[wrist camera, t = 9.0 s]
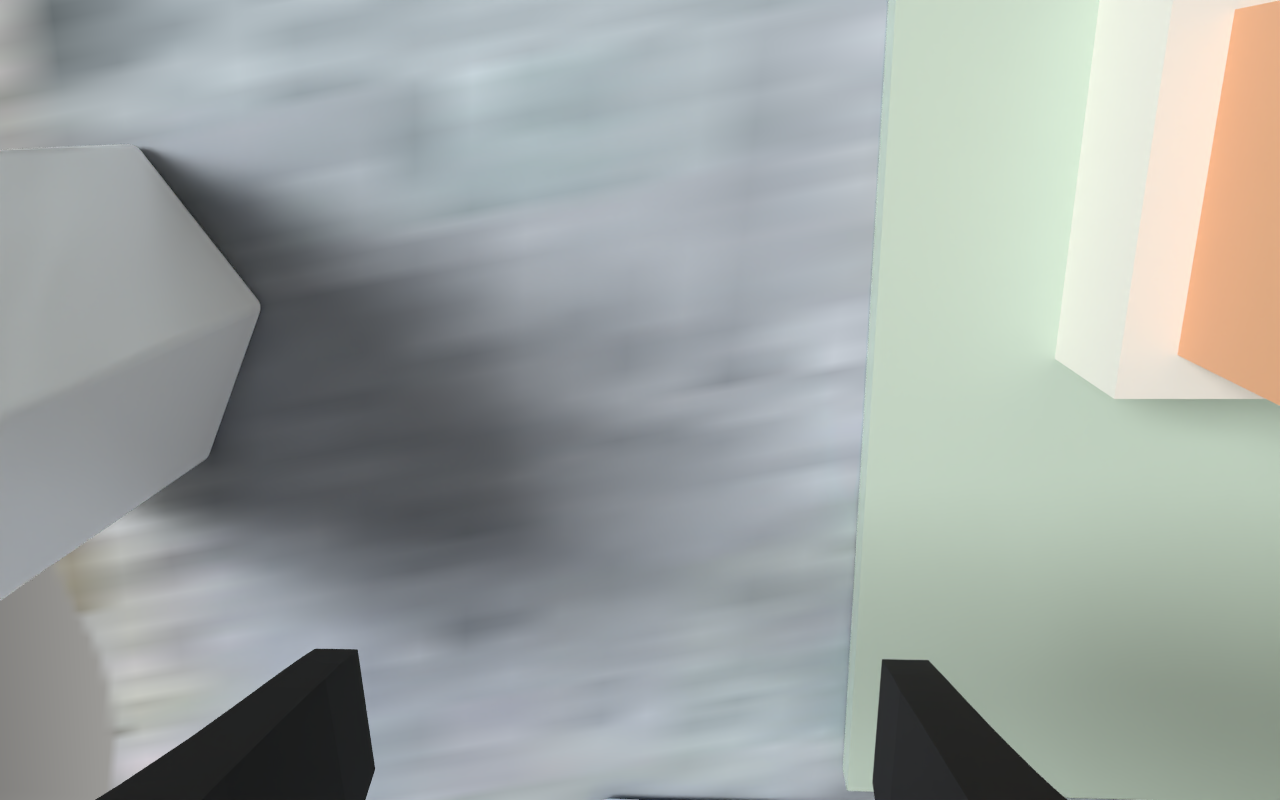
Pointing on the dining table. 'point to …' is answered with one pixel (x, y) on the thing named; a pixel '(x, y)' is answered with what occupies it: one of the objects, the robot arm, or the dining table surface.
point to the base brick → (1144, 197)
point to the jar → (103, 345)
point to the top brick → (1241, 218)
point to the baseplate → (1044, 452)
